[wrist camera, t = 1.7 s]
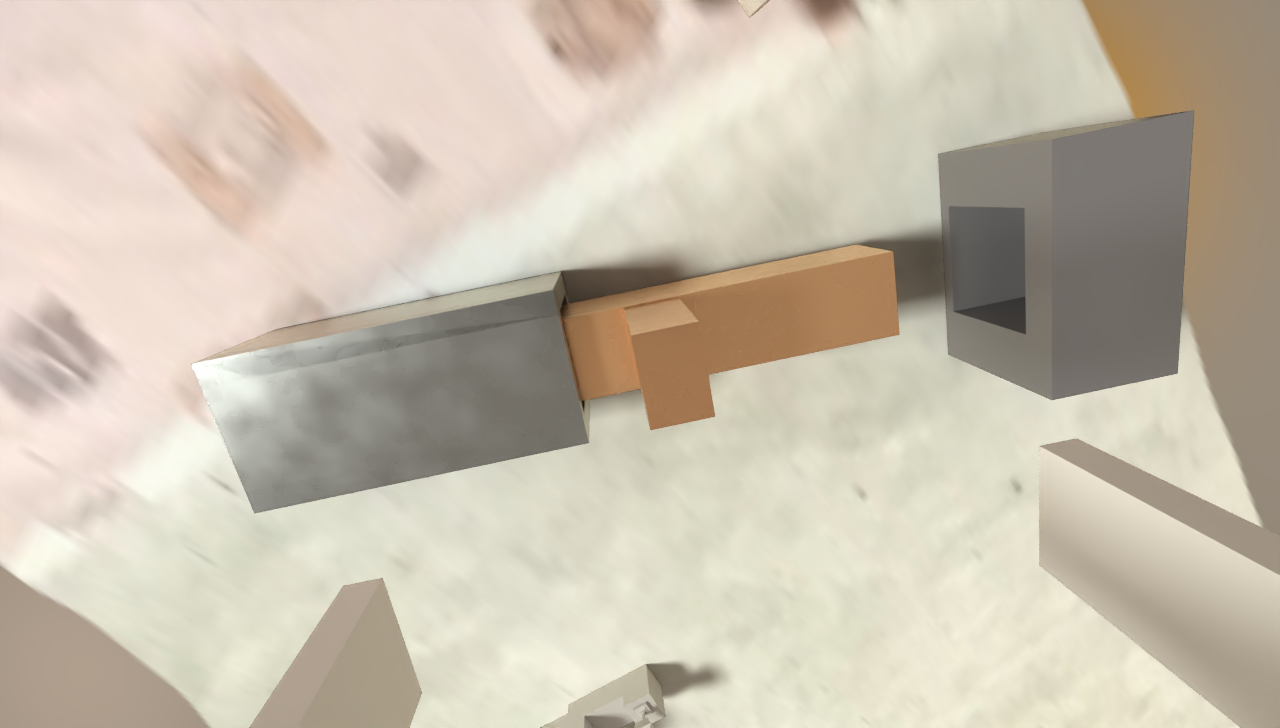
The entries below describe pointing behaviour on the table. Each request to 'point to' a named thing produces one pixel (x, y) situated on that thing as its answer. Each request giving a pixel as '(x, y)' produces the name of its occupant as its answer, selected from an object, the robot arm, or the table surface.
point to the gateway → (617, 704)
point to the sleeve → (398, 393)
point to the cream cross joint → (752, 6)
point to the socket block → (1069, 254)
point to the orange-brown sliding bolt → (726, 326)
